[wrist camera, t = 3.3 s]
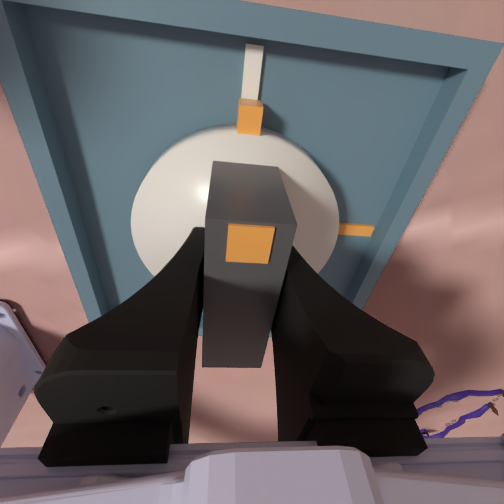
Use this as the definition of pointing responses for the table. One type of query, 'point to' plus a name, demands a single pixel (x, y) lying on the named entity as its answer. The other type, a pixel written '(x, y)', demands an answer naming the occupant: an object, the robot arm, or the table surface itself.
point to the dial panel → (228, 115)
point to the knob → (236, 224)
